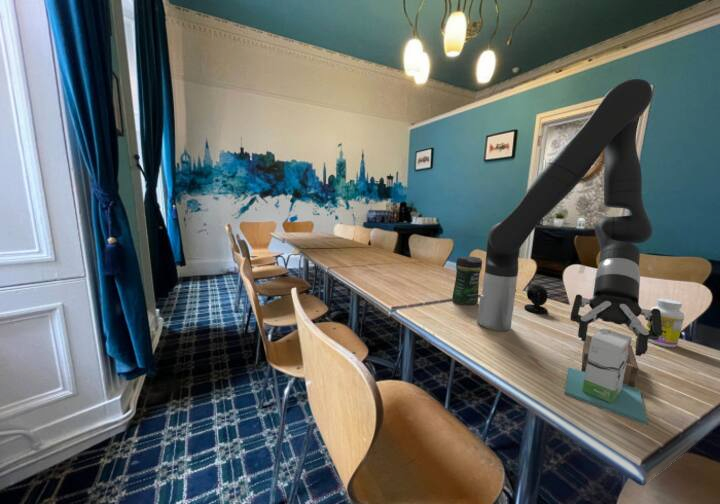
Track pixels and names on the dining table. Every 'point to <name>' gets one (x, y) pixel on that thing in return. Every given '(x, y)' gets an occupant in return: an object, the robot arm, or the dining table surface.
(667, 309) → the supplement bottle
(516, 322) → the dining table surface
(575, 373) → the teal mat
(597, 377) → the ink box
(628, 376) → the walnut case
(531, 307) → the webcam
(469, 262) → the coffee jar
